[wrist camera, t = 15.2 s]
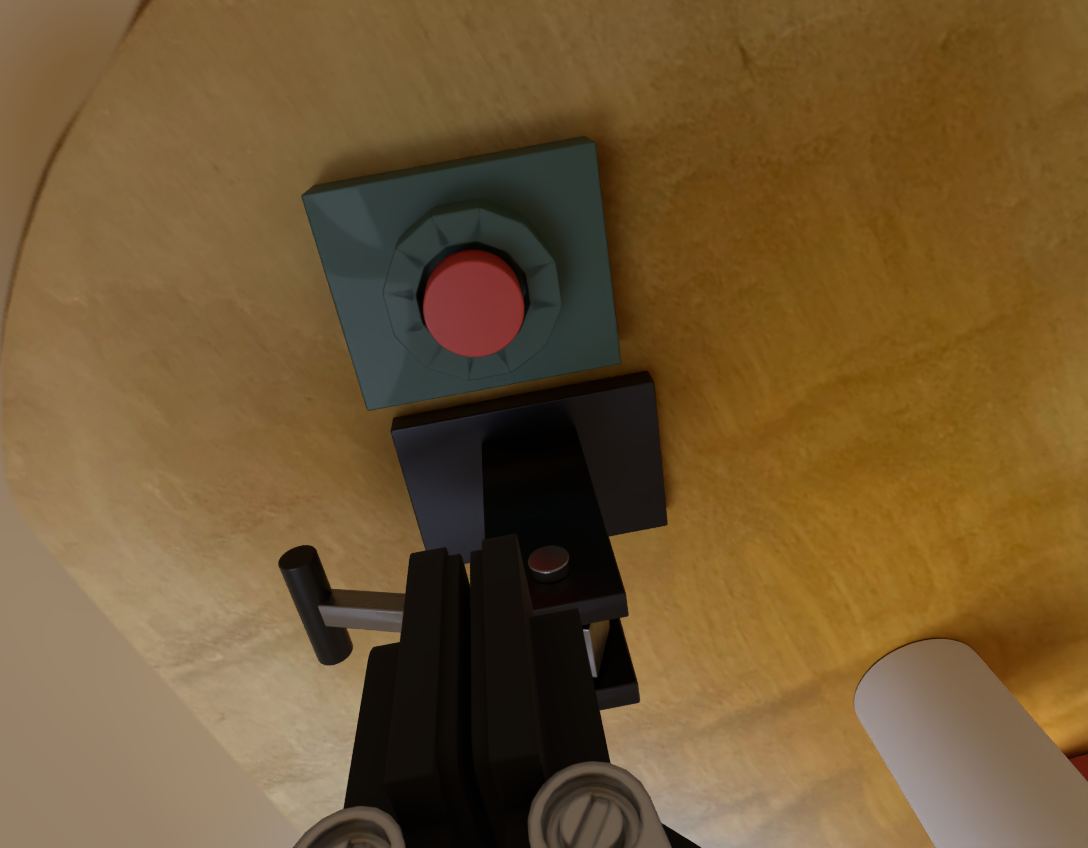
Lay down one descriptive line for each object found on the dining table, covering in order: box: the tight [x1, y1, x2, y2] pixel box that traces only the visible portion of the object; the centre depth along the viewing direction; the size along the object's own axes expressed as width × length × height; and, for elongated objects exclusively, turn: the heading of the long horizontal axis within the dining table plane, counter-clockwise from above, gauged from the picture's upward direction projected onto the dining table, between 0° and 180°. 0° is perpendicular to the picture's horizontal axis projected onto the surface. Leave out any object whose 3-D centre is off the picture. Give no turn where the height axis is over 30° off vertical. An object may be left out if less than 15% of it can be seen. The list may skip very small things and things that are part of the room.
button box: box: [302, 136, 621, 411], centre depth 28 cm, size 11×9×4 cm
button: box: [423, 249, 524, 357], centre depth 26 cm, size 4×4×2 cm
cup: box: [854, 639, 1088, 848], centre depth 37 cm, size 8×8×16 cm
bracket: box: [391, 371, 668, 710], centre depth 29 cm, size 12×8×13 cm, turn 99°
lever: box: [278, 545, 610, 677], centre depth 26 cm, size 12×5×2 cm, turn 99°
